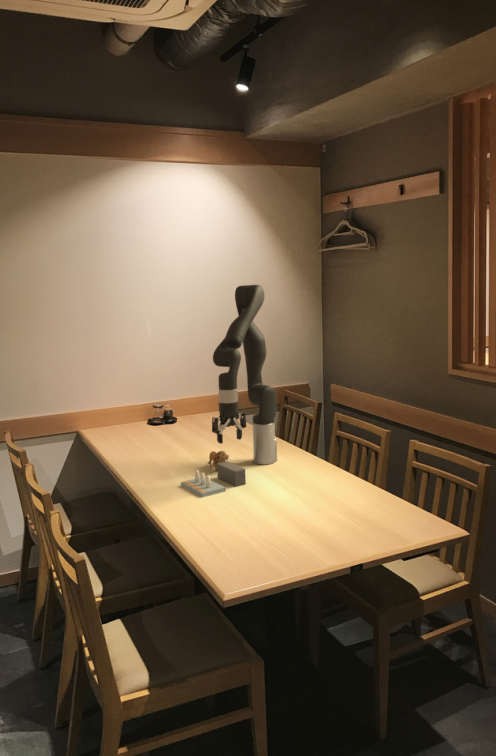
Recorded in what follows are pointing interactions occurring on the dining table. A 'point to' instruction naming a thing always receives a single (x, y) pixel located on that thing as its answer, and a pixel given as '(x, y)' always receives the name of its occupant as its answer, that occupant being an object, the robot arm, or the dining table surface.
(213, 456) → the lion figurine
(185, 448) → the dining table surface
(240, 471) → the block
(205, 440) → the dining table surface
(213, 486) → the board
